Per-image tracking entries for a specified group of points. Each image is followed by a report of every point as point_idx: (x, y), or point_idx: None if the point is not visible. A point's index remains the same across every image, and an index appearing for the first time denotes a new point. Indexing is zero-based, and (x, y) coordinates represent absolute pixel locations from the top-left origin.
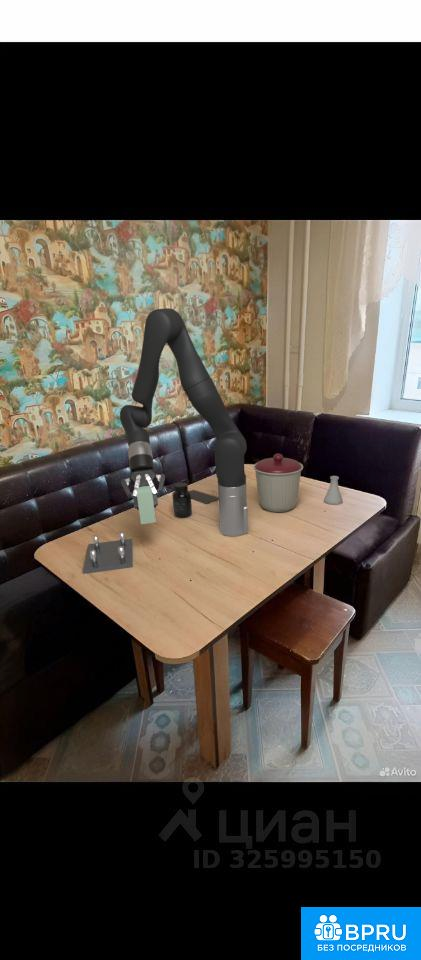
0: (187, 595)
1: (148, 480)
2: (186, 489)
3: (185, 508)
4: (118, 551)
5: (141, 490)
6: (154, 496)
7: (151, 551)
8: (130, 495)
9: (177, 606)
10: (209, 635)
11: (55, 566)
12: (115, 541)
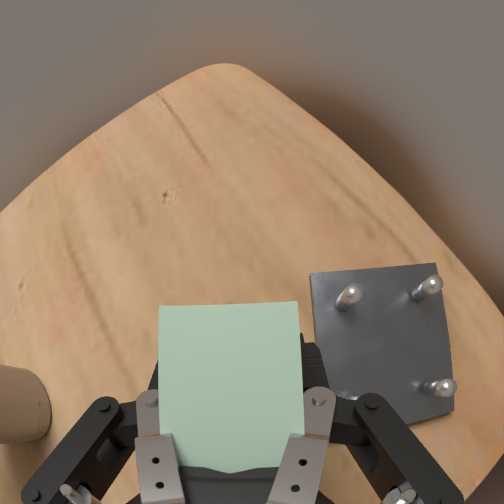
0: (183, 151)
1: (167, 490)
2: None
3: None
4: (363, 355)
5: (254, 369)
6: None
7: None
8: (353, 404)
9: (207, 127)
10: (175, 82)
11: (496, 311)
12: None
